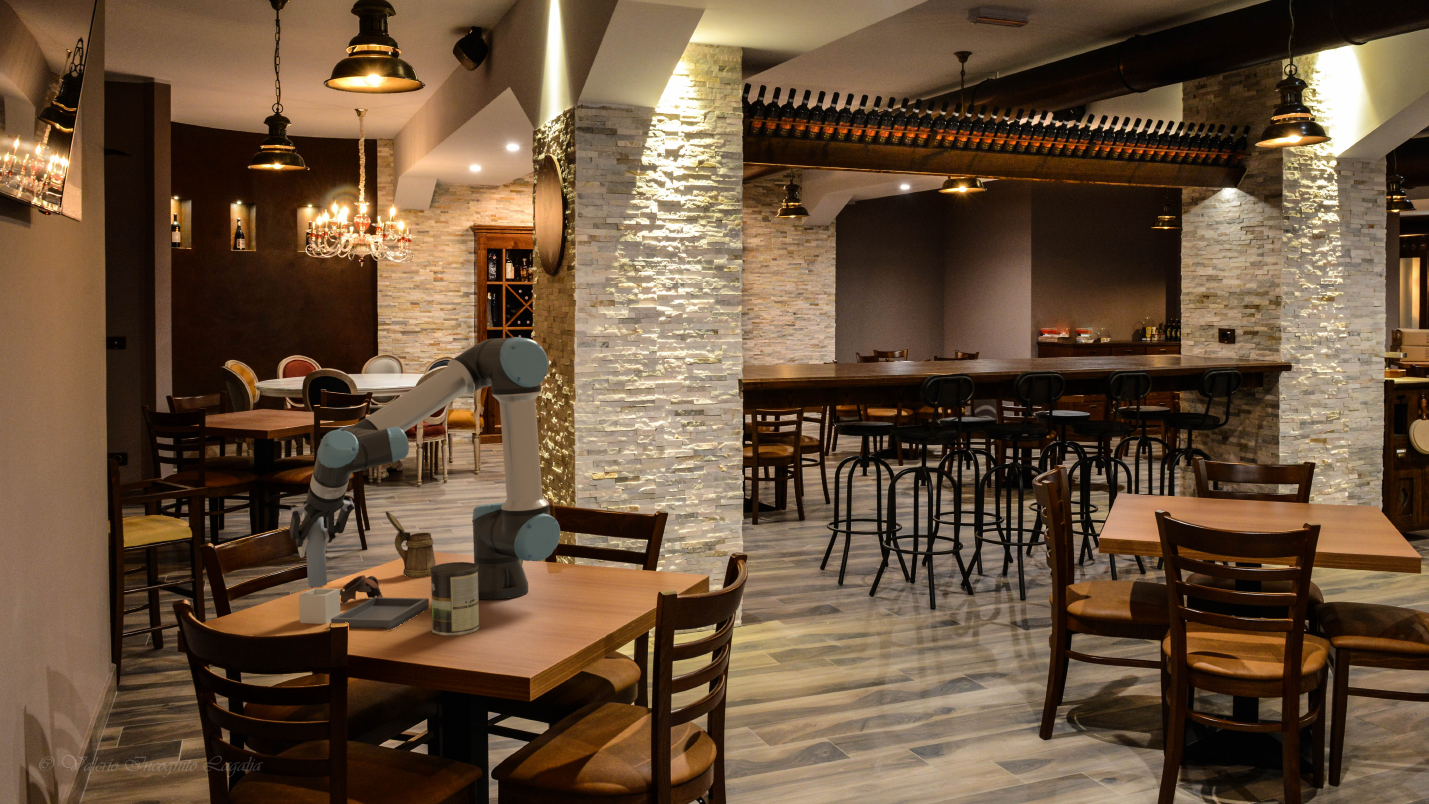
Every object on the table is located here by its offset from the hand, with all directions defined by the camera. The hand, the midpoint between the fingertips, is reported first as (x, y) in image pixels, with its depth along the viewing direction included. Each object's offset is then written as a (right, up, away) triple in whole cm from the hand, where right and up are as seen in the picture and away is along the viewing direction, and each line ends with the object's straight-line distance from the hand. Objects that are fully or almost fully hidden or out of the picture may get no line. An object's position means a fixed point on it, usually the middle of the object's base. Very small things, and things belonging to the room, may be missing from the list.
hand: (311, 551), depth 237 cm
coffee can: (+36, -16, -10) cm, 41 cm away
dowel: (+3, -7, -3) cm, 8 cm away
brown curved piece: (+7, -15, +15) cm, 23 cm away
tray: (+16, -16, 0) cm, 23 cm away
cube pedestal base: (+3, -16, -2) cm, 16 cm away
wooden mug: (+9, -14, +48) cm, 50 cm away
